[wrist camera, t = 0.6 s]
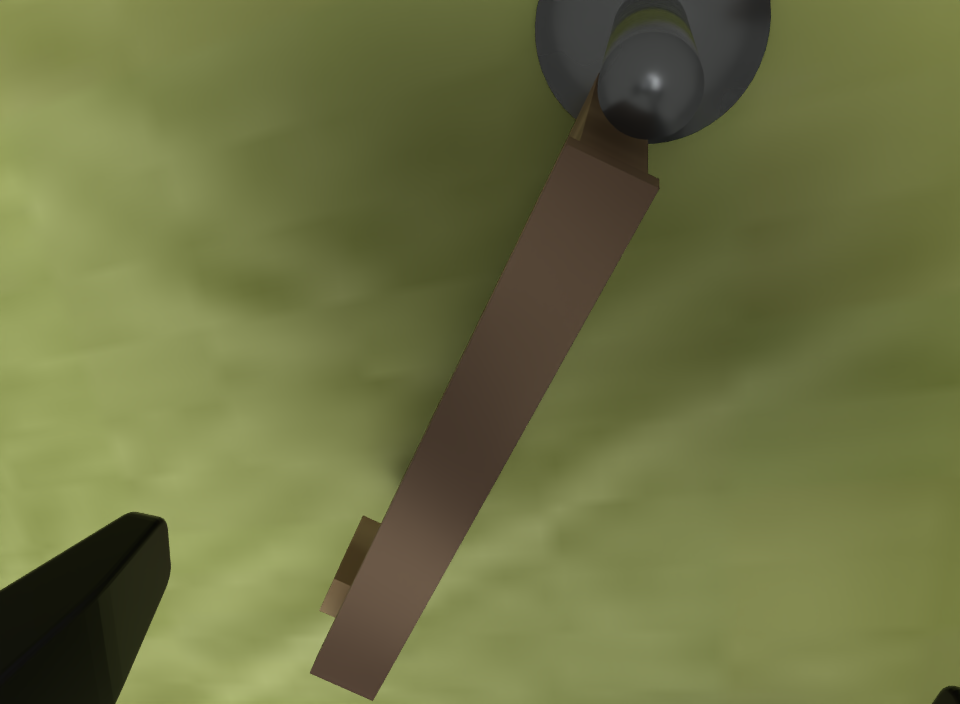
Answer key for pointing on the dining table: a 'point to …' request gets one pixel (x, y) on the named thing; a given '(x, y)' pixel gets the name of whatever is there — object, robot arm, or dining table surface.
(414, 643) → the dining table surface
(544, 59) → the hinge pin
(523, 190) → the dining table surface
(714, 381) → the dining table surface
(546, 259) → the brown wooden plank
